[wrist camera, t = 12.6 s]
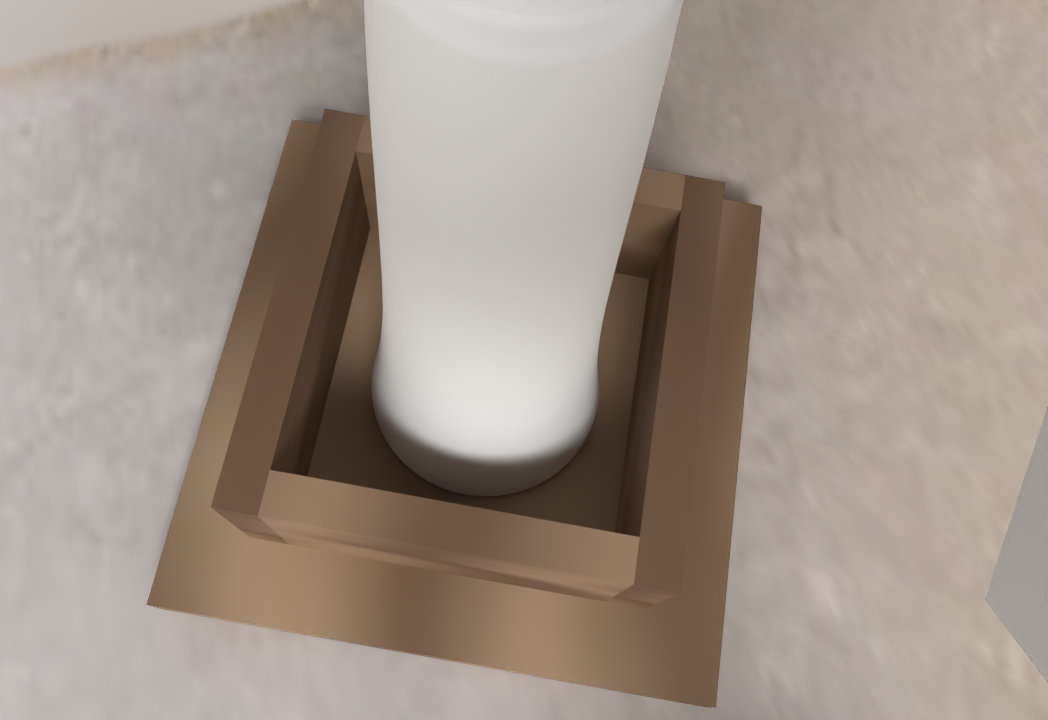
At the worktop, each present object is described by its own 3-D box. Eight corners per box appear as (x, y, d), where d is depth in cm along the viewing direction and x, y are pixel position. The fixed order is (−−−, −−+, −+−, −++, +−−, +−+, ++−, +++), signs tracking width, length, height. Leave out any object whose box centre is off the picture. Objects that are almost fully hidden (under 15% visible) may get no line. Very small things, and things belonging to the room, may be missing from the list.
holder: (751, 222, 28) (810, 128, 24) (705, 706, 24) (767, 710, 19) (297, 138, 28) (265, 28, 24) (159, 608, 24) (85, 586, 19)
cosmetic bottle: (448, 543, 24) (383, -517, 3) (330, 351, 25) (-259, -1246, 4) (642, 421, 25) (1516, -872, 4) (519, 246, 27) (741, -1333, 6)
